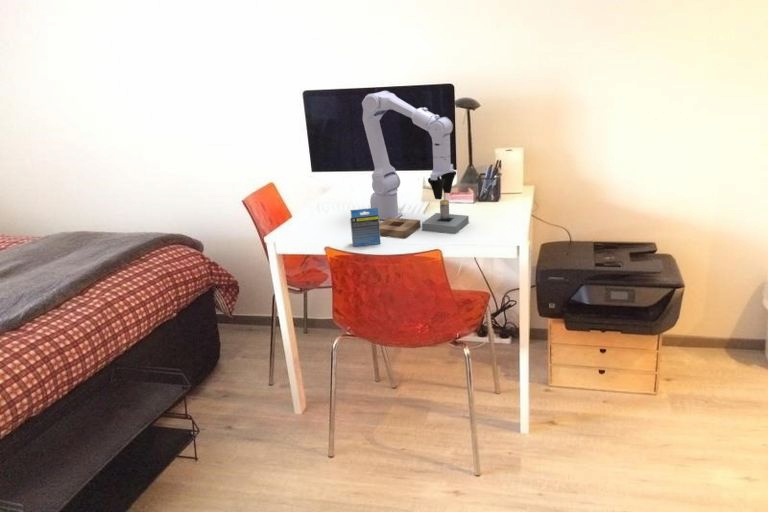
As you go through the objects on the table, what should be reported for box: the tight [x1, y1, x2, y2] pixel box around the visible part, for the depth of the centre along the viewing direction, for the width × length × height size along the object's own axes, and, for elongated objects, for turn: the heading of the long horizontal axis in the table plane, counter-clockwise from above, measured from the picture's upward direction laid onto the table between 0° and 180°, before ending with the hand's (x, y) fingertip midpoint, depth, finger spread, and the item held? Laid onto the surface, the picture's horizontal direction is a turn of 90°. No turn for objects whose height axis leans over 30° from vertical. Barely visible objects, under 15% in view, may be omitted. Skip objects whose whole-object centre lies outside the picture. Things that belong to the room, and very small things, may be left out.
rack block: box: [421, 212, 470, 234], centre depth 206 cm, size 12×12×2 cm
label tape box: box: [349, 207, 381, 248], centre depth 194 cm, size 9×4×12 cm, turn 98°
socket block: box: [379, 217, 422, 239], centre depth 205 cm, size 12×12×2 cm
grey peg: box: [439, 199, 450, 222], centre depth 205 cm, size 3×3×9 cm
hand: (442, 195), depth 204 cm, fingers open, 7 cm apart
